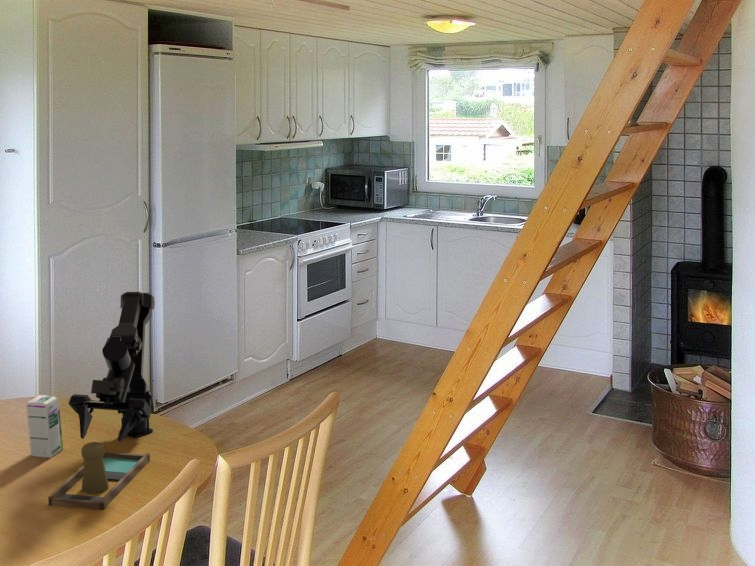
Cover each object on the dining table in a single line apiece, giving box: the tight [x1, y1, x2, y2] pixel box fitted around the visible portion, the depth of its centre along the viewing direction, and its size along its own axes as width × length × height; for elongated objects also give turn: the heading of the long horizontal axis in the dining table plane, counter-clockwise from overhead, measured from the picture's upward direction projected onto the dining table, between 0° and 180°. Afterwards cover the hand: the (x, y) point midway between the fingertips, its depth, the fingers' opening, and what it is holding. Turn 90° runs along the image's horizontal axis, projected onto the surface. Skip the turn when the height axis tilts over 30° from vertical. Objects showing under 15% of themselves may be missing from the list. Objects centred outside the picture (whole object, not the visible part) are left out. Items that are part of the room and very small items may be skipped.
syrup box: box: [25, 394, 64, 459], centre depth 227 cm, size 6×6×14 cm
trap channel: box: [47, 451, 151, 511], centre depth 213 cm, size 26×13×2 cm, turn 171°
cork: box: [80, 441, 110, 495], centre depth 208 cm, size 6×6×11 cm
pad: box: [103, 457, 139, 473], centre depth 221 cm, size 7×10×1 cm
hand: (100, 439), depth 211 cm, fingers open, 9 cm apart
